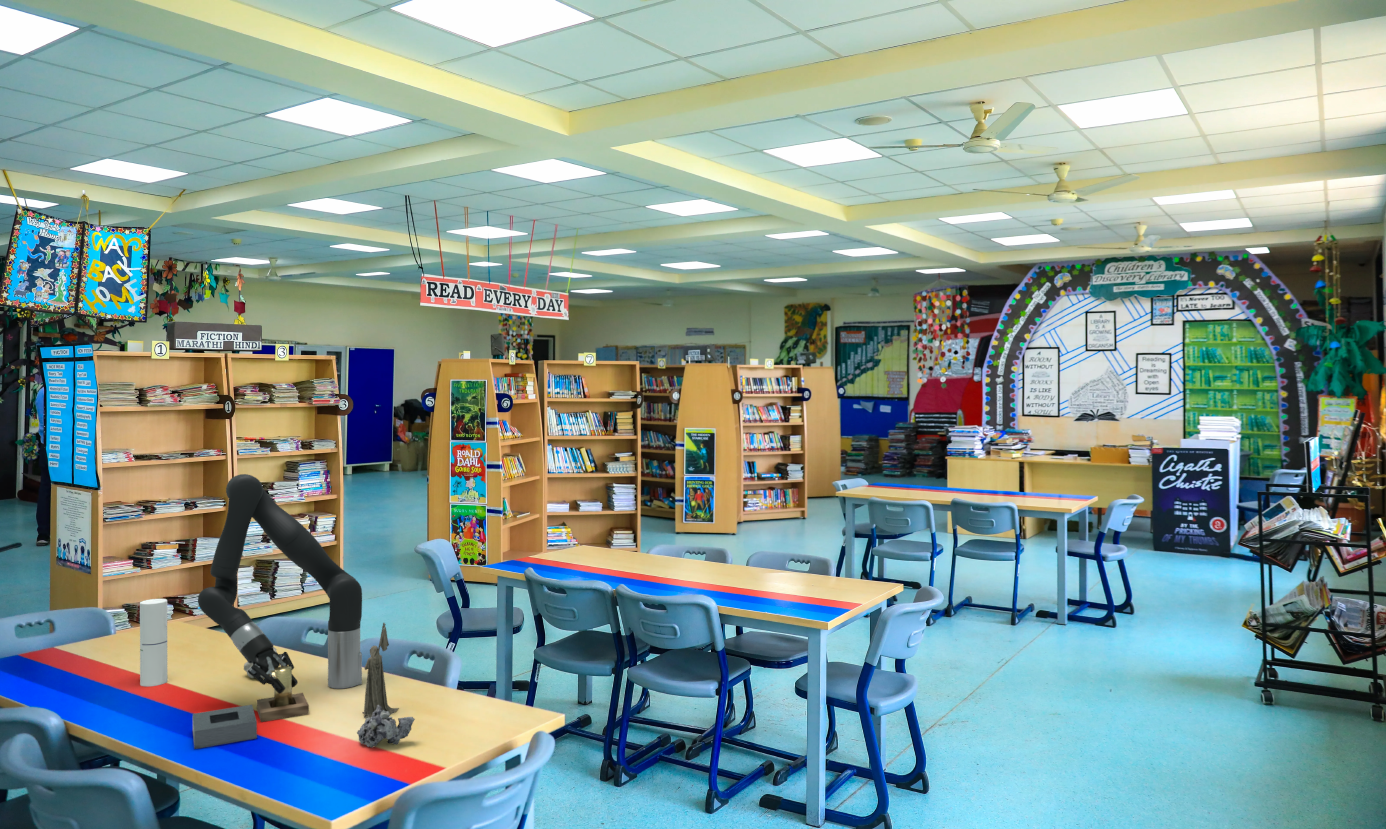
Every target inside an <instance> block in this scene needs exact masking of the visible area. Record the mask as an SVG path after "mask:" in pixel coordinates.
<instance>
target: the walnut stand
mask: <svg viewBox="0 0 1386 829" xmlns="http://www.w3.org/2000/svg"><path fill="white" fill-rule="evenodd" d="M309 707H310V705H309V703H308V701H307V699H306V697H305V694H304V692H298V693H292V705H287V706H281V707H274V696H272V697H266V698H258V699H256V711H257V713H258V717H259V721H260V723H263V722H269V721H276V720H282V719H287V718H294V717H300V716H305V715H309V713H310V710H309V709H310V708H309Z"/></svg>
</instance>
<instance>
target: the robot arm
mask: <svg viewBox="0 0 1386 829" xmlns="http://www.w3.org/2000/svg"><path fill="white" fill-rule="evenodd" d="M225 493H226V496H227V498H228V503H227V504H228V505H227V515H226V519H225V522H224V526H223V529H222V531H221V533H220V534H221V535H220V537H219V538H218V539H219V540H218V543H217V544H216V548H215V552H214V555H213V559H212V563H211V566H210V572H209V573H210V575H211V576H212V577H214V578H215V583H214V586H209V587H206V588H204V589H203V590H201V591H200V593H199V594H198V597H197V604H198V606H199V608H200V611H201V612H202V613H203V614H204V615H205V616H207V617H208V618H209V619H210V620H212V622H214V623H215V624H217V625H218V626H220V627H221V629H223V631H224V632H225V633H226V634H227V636H228V637H229V638H230V640H231V641H232V643H233V644H234V647H236V648H237V650H238V651H239V653H241V655H242V656H243V658H244V659H245V660H246V662H249V663H253V665H252V667H251V668H250V669H249V670H248V673H249V674H251V675H252V676H253V677H254V678H253V679H254V680H255V679H256V680H257V681H258V682H259V683H260V684H261V685H264V686H265V685H266V684H268V685H271V686H272V688H273V690H274V689H275V690H276V691H277V692H278V693H279V694H280V693H282V692H283V691H284V690H285V687H284V685H283V684H282V683H281V682H280V680H279V679H278V678H277V677H276V675H275V673H274V670H275V668H277V667H281V666H290V667H292V671H293V670H294V668H295V666H294V664H293V661H292V659H291V658H290V655H289V654H288V652H287V651H283V652H282V653H279V652H275V651H274V650H273V647H274V644H273V642H272V641H271V640H270V639H269V638H268V636H267V635H266V634H265V633H264V632H263V630H262V629H261V628H260V627H259V625H257V623H255V622H254V621H253V620H252V618H251V617H250V616H249V615H248V613H247V611H245V610H244V609H242V608H238V607H235V606H234V604H235V602H236V600H237V596H238V572H239V568H240V565H241V561H242V556H243V552H244V548H245V544H246V539H247V538H246V537H247V534H248V531H249V528H250V525H251V521H252V519H253V520H255V522H256V523H257V524H258V525H259V526H260V528H261V529H262V530H263V532H264V533H265V535H267V537H268V539H269V540H270V541H271V542H272V543H273V544H274V545H275V546H276V548H277V549H278V550H279V551H280V552H281V553H282V554H284V556H285V557H286V558H288V559H289V560H290V561H291V562H292V563H294V564H295V565H296V566H297V567H299V568H300V569H301V570H302V571H305V572H306V573H307V574H308V575H310V576H311V577H312V578H313V579H314V580H315V581H316V583H317V584H318V585H319V586H320V587H321V589H322V590H323V591H324V592H325V593H326V595H327V597H328V599H329V617H328V621H327V632H328V633H327V686H328V687H329V688H331V689H347V688H348V689H349V688H354V687H356V686H359V685H362V683H363V677H362V676H363V654H362V652H361V621H362V616H363V614H362V612H363V590H362V586H361V584H360V583H359V582H358V580H357V579H356V578H355V577H354V576H353V575H351V574H350V573H348V572H347V571H345V570H344V569H343V568H342V567H341V566H340V565H338V564H337V563H336V562H335V561H334V560H332V558H331V557H330V556H329V555H328V553H327V552H326V551H325V549H324V548H323V545H321V544H320V542H319V541H318V540H317V539H316V538H315V536H314V535H313V534H312V533H311V532H310V531H309V530H308V529H307V528H306V527H305V526H304V525H303V524H302V523H301V522H299V521H298V520H297V519H296V518H295V517H293V515H291V514H290V513H289V512H287V511H285V510H284V509H283V508H282V507H281V506H279V505H278V504H277V503H276V502H275V501H274V500H273V499H272V498H271V496H270V495H269V494H268V493H267V491H266V490H265V489H264V487H263V484H262V482H261V481H260V480H259V479H258V478H257V477H255V476H253V475H252V474H248V473H247V474H246V473H244V474H243V473H242V474H237V475H234V476H233V477H232V478H230V480H229V481H228V482H227V485H226V487H225ZM261 676H263V677H264V678H262V677H261ZM276 678H277V679H276ZM297 685H298V680H297V679H296V677H295V675H294V674H293V673H292V689H293V688H295V687H296V686H297Z"/></svg>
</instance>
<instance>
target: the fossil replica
mask: <svg viewBox="0 0 1386 829" xmlns="http://www.w3.org/2000/svg"><path fill="white" fill-rule="evenodd" d="M273 650H274V651H275V652H277V651H278V649H277V648H276V647H274V646H273ZM277 653H278V652H277ZM252 665H253V663H249V662H248V661H246V662H245V663H244V665H243V670H244V671H245V673H246V675H247V676H248V677H249V678H250V679H255V678H254V677H253V676H252V675H251V674H249V673H248V670H249V669H250V668H251V667H252ZM261 677H262V678H263V679H264V677H263V676H261Z"/></svg>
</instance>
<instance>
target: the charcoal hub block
mask: <svg viewBox="0 0 1386 829" xmlns="http://www.w3.org/2000/svg"><path fill="white" fill-rule="evenodd" d="M257 723H258V722H257V717H256V714H255V711H254V707H253V704H247V705H240V706H236V707H235V706H233V707H227V708H221V709H216V710H210V711H209V710H207V711H202V712H197V713H192V736H193V748H194V750H197V749H202V748H203V749H204V748H208V747H209V748H210V747H214V746H215V747H216V746H220V745H227V744H232V743H233V744H234V743H238V742H244V741H250V740H255V739H257V738H258V731H257V729H258V727H257V726H258V725H257Z"/></svg>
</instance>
